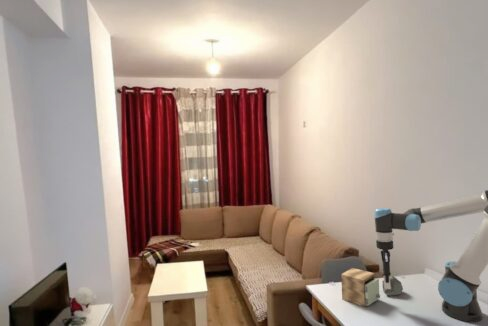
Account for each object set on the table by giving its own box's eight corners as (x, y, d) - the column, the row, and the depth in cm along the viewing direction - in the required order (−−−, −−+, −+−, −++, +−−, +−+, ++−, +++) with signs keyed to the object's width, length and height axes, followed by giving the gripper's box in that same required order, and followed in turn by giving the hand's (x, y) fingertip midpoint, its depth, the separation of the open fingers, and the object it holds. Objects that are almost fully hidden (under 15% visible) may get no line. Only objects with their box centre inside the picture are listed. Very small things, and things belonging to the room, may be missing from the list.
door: (381, 298, 155) (381, 279, 155) (369, 307, 147) (368, 286, 147) (377, 297, 157) (376, 278, 157) (364, 305, 149) (364, 285, 149)
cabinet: (375, 298, 158) (374, 273, 158) (364, 306, 150) (363, 280, 150) (353, 291, 167) (352, 267, 166) (342, 299, 158) (341, 274, 158)
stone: (396, 277, 158) (390, 270, 168) (380, 289, 160) (376, 281, 170) (409, 292, 157) (402, 283, 167) (393, 303, 159) (388, 294, 169)
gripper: (394, 243, 141) (397, 294, 142) (391, 236, 154) (394, 283, 154) (376, 243, 144) (380, 293, 144) (375, 236, 156) (378, 282, 156)
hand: (387, 288), depth 149 cm, fingers closed
